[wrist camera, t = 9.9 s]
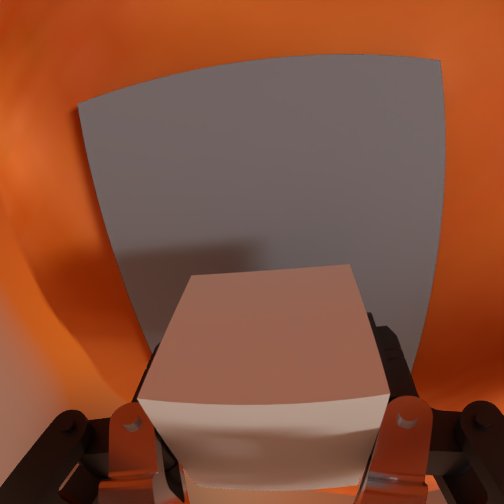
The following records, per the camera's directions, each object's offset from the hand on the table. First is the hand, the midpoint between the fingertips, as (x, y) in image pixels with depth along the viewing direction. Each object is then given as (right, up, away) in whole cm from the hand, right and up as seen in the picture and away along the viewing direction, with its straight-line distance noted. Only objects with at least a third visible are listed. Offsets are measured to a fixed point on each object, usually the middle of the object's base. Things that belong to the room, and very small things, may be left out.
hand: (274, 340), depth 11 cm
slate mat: (0, +2, +4) cm, 4 cm away
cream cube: (0, 0, 0) cm, 0 cm away
